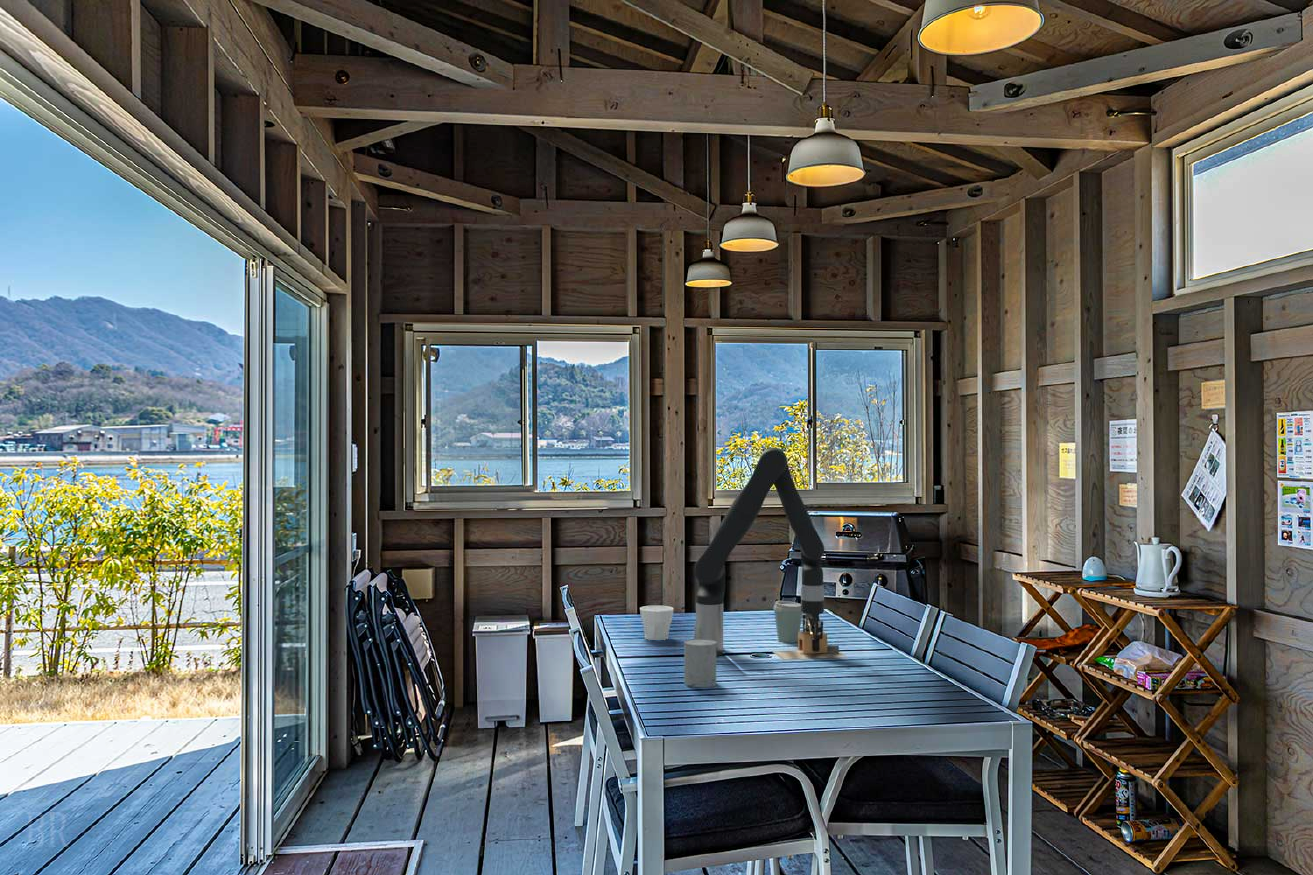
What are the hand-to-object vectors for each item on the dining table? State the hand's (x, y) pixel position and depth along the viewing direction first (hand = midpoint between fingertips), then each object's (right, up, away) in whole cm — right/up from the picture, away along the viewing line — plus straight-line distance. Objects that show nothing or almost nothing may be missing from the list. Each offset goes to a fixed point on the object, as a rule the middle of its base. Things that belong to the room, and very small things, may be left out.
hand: (812, 649), depth 311 cm
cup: (-51, -3, +31) cm, 60 cm away
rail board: (-1, -3, 0) cm, 3 cm away
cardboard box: (0, -1, 0) cm, 1 cm away
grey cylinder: (-39, -3, -33) cm, 51 cm away
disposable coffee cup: (-5, -4, +22) cm, 22 cm away
